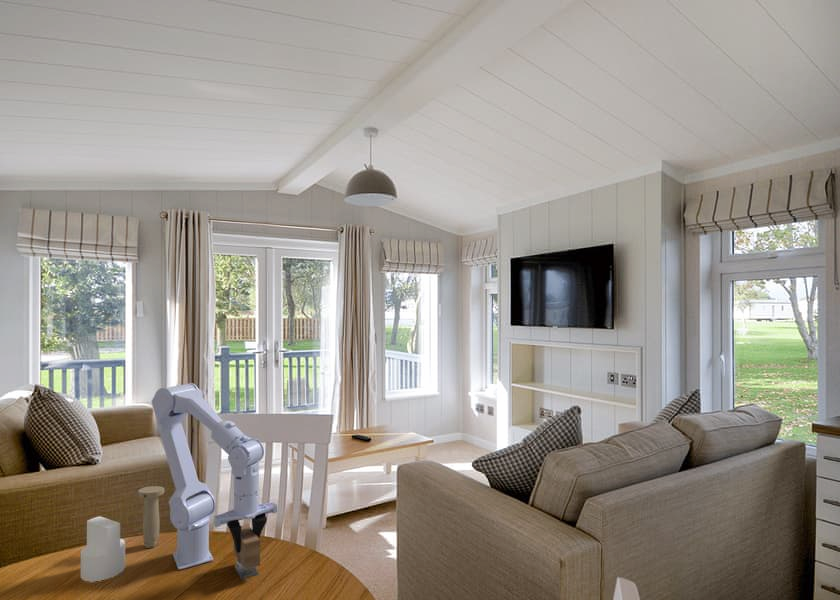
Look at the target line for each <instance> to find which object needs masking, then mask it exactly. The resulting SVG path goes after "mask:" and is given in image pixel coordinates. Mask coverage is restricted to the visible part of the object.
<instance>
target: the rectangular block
mask: <svg viewBox="0 0 840 600" xmlns="http://www.w3.org/2000/svg"><path fill="white" fill-rule="evenodd" d="M240 526H241V535H240V544H241V546H240V552H239V553H237V552H236V550H235V544H234V543H233V553H234V555H235V557H236V558H237V559H238V560H239V562H240V563H241V565H242V566H243V568H244V570H246V569H250V568H253V567H256V568H257V567H260V566H261V539H260V538H258V537H257V535H256V534H255V533H254V531H253V530H252V527H251V526H250V525H249V524H244V525H240Z"/></svg>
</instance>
